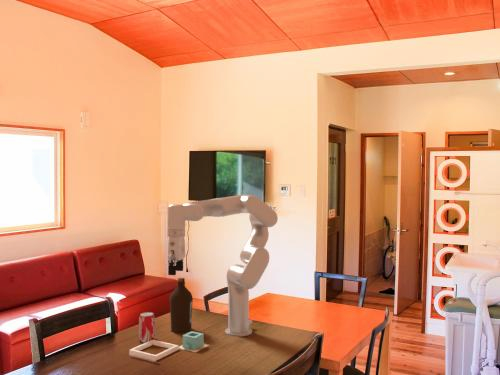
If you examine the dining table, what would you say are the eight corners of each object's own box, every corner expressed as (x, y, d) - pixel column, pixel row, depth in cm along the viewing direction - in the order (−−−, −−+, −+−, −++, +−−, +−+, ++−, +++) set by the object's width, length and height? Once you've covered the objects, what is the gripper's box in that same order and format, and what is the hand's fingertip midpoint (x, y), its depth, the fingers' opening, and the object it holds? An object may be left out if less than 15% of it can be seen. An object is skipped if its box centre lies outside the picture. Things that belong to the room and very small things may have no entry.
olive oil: (170, 335, 218) (170, 281, 218) (169, 328, 229) (169, 276, 228) (193, 334, 221) (193, 280, 220) (191, 327, 231) (191, 275, 231)
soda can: (151, 344, 207) (151, 316, 207) (136, 343, 209) (135, 315, 209) (157, 338, 214) (157, 312, 214) (142, 337, 216) (142, 311, 215)
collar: (191, 342, 207) (191, 331, 207) (203, 345, 204) (203, 333, 204) (180, 348, 200) (180, 336, 200) (192, 351, 197) (192, 339, 197)
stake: (190, 342, 209) (190, 331, 209) (209, 346, 204) (209, 335, 204) (176, 349, 201) (176, 338, 201) (195, 354, 196) (195, 342, 196)
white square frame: (152, 345, 206) (152, 339, 206) (178, 351, 199) (178, 345, 199) (129, 355, 194) (129, 349, 194) (156, 362, 187) (156, 356, 187)
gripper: (178, 235, 197) (177, 277, 197) (190, 231, 214) (190, 269, 214) (160, 235, 198) (160, 276, 198) (174, 230, 215) (174, 268, 215)
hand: (175, 272), depth 206 cm, fingers open, 9 cm apart
